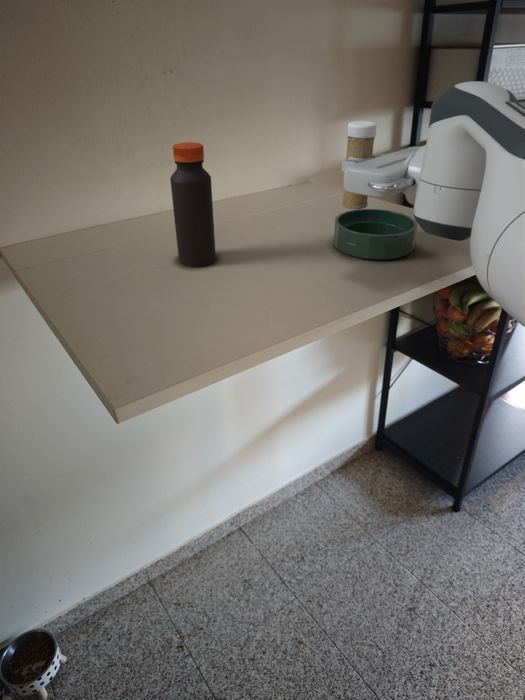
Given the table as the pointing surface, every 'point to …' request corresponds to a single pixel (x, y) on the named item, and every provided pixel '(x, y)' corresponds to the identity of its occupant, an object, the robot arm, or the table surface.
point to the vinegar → (192, 206)
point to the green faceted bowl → (374, 234)
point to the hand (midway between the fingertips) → (354, 162)
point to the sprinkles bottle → (359, 156)
